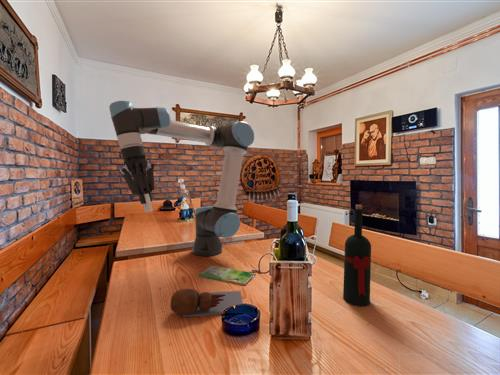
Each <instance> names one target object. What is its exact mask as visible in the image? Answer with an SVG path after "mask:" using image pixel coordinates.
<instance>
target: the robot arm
mask: <svg viewBox="0 0 500 375" xmlns="http://www.w3.org/2000/svg"><path fill="white" fill-rule="evenodd" d="M109 114H110V119H111V122H112V124H113V125H112V126H113V128H114V131H115V135H116V138H117V142H118V146H119V148H120V154H121V158H122V160H123V162H124V163H123V166H122V167H121V168H119V169H118V173H119V174H120V175H121V176H122V177H123V179H124V180H125V183H126V184H127V186H128V188H129V191H130V192H131V194H132V195H134V196H135V195H136V196H137V197H138V198H139V203H140V204H141V205H142V206H143V209H144V213H151V212H153V211H154V209H153V206H152V204H153V203H152V202H153V199H152V195H151V193H152V192H153V191H154V190H155V178H154V173H155V172H154V169H155V164H154V163H149V161H148V159H146V158H147V157H146V151H145V147H144V146H143V144H144V142H143V139H142V135H144V134H148V135H155V136H161V137H168V138H174V139H180V140H186V141H191V142H199V143H204V144H205V145H206V146H211V147H215V148H221V149H223V151H224V158H223V164H222V171H221V176H220V182H219V187H218V193H217V197H216V198H217V199H216V202H215V203H214V204H212V205H211V206H199V207H196V209H195V213H194V215H195V217H194V218H195V237H194V241H193V244H192V249H191V250H192V254H193V255H195V256H201V257H209V256H210V257H212V256H216V255H219V254H221V253H222V252H223V244H222V242H221V238H224V239H229V238H231V237H233V236H235V235H236V234H237V232H238V231H239V229H240V227H241V226H240V225H241V219H240V218H239V217H240V216H239V215H238V208H237V206H236V200H237V196H238V188H239V182H240V179H241V178H240V177H241V172H242V171H241V170H242V164H243V160H244V159H243V158H244V156H245V155H246V154H247V153H248V147H250V146H251V145H252V144H253V143H254V140H255V132H254V129H253V128H252V126H251V125H250V124H249V123H248V122H246V121H243V120H240V121H235V122H233V123H230V124H226V125H225V124H224V125H220V126H212V125H208V126H202V125H197V124H193V123H189V122H183V121H178V120H173V119H171V114H170V112H169V110H168V109H167V108H166V107H158V106H156V107H140V108H139V107H134V105H133V103H132V102H131V101H129V100H128V101H127V100H117V101H114V102H111V103H110V105H109Z"/></svg>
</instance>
